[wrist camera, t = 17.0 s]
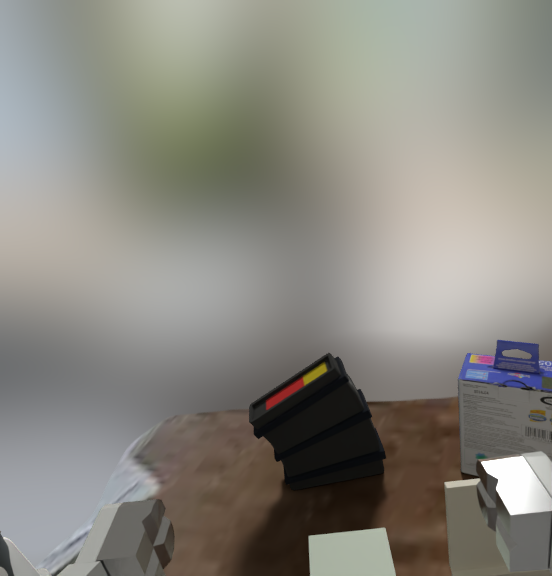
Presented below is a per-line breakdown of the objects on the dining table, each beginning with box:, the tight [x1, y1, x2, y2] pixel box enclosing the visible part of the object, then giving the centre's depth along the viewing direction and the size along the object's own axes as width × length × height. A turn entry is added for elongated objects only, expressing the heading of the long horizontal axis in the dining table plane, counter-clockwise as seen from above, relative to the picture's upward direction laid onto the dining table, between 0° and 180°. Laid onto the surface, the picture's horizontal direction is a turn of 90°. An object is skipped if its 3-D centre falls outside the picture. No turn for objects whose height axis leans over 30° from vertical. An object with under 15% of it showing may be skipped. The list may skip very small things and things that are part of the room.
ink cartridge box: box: [458, 340, 552, 476], centre depth 43 cm, size 10×6×14 cm, turn 60°
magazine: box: [249, 353, 386, 490], centre depth 47 cm, size 4×13×15 cm, turn 93°
